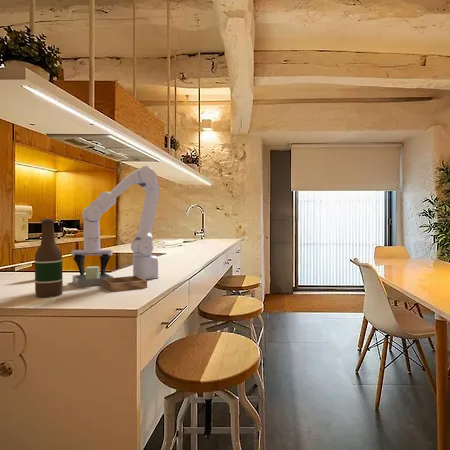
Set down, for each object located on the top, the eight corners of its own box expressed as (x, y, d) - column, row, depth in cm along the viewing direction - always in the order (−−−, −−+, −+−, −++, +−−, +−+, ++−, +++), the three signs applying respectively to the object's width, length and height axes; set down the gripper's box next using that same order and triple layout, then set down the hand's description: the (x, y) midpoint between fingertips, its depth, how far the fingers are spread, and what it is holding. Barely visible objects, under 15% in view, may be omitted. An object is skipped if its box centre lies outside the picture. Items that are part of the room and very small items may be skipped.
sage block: (96, 284, 135) (96, 267, 135) (85, 284, 135) (85, 267, 135) (99, 282, 139) (99, 266, 139) (88, 282, 139) (88, 266, 139)
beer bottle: (68, 293, 118) (66, 218, 118) (49, 298, 111) (47, 218, 111) (49, 292, 121) (47, 218, 120) (29, 296, 114) (27, 219, 113)
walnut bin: (136, 282, 137) (136, 275, 137) (147, 287, 127) (147, 280, 127) (102, 285, 131) (102, 278, 131) (111, 291, 121) (111, 283, 121)
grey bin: (105, 279, 145) (105, 272, 145) (113, 283, 135) (113, 277, 135) (72, 282, 139) (72, 275, 139) (78, 287, 129) (77, 280, 129)
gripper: (114, 237, 141) (115, 273, 141) (76, 238, 141) (77, 273, 141) (109, 238, 134) (109, 276, 134) (68, 239, 134) (69, 276, 134)
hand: (92, 274), depth 137 cm, fingers open, 7 cm apart
